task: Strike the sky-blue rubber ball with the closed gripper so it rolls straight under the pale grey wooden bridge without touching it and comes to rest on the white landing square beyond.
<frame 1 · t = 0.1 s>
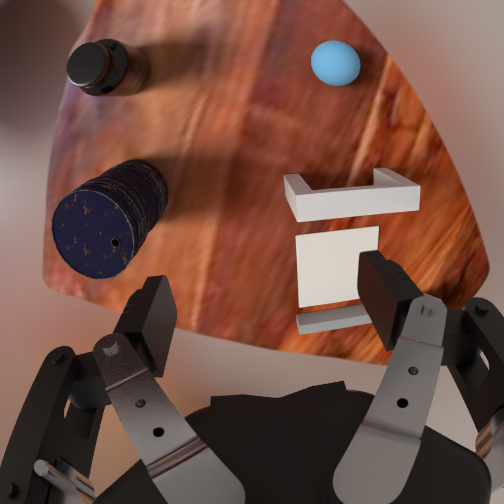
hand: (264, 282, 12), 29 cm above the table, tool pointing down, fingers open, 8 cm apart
ball: (335, 63, 30), on the table
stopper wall: (336, 312, 50), on the table
supplement bottle: (128, 72, 32), on the table
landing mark: (338, 268, 46), on the table
bridge: (337, 180, 40), on the table
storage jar: (136, 192, 40), on the table
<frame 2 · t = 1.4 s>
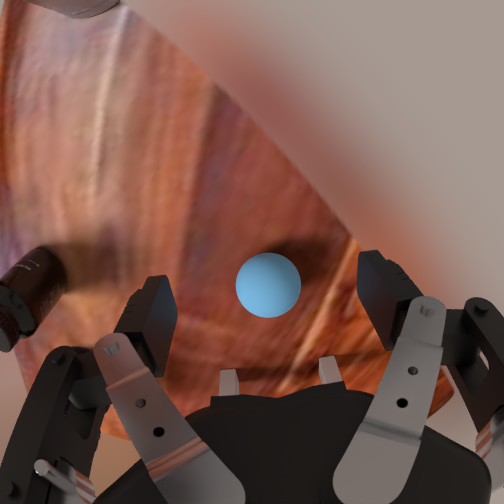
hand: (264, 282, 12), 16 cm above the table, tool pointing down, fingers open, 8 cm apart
ball: (268, 285, 28), on the table
supplement bottle: (47, 270, 30), on the table
bridge: (278, 371, 38), on the table
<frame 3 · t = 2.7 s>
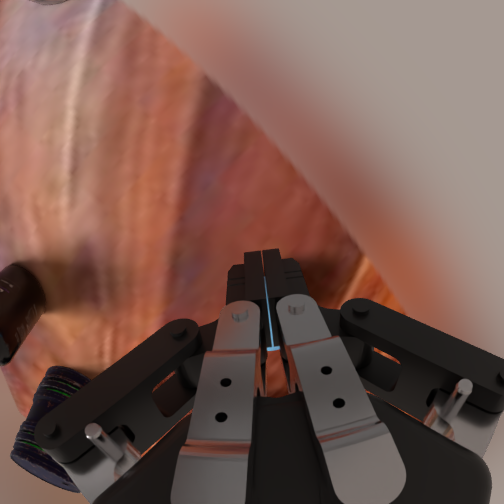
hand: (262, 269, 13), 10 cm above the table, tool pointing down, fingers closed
supplement bottle: (24, 288, 26), on the table
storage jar: (75, 387, 34), on the table
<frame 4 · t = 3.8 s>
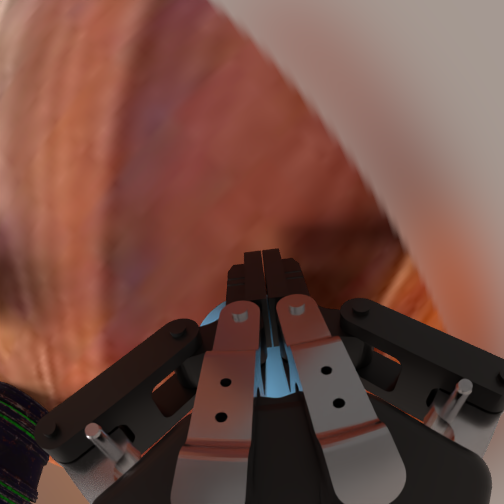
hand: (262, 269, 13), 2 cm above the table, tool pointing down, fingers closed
ball: (254, 354, 14), on the table
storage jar: (24, 407, 24), on the table
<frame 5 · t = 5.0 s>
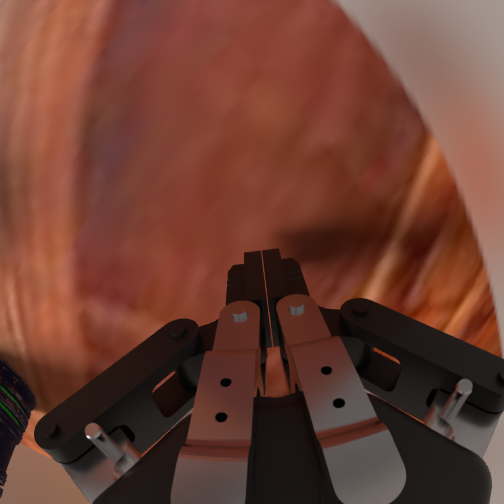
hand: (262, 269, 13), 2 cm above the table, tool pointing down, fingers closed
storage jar: (0, 377, 21), on the table
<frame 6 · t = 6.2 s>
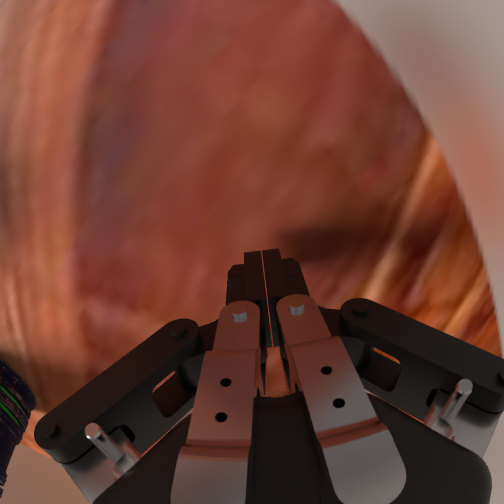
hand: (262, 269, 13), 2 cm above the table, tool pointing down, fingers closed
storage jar: (0, 377, 21), on the table
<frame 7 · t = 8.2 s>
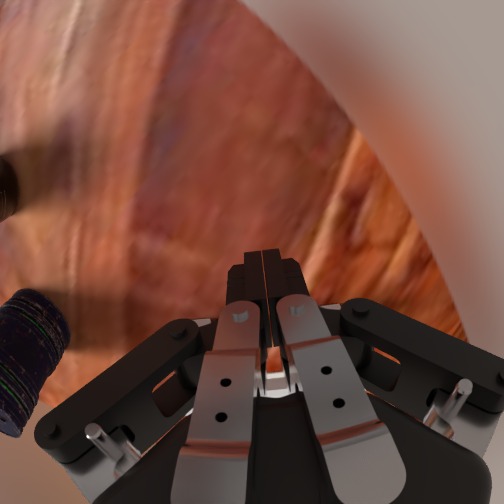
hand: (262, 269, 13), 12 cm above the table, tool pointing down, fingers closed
supplement bottle: (1, 187, 23), on the table
bridge: (266, 324, 30), on the table
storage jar: (40, 320, 30), on the table
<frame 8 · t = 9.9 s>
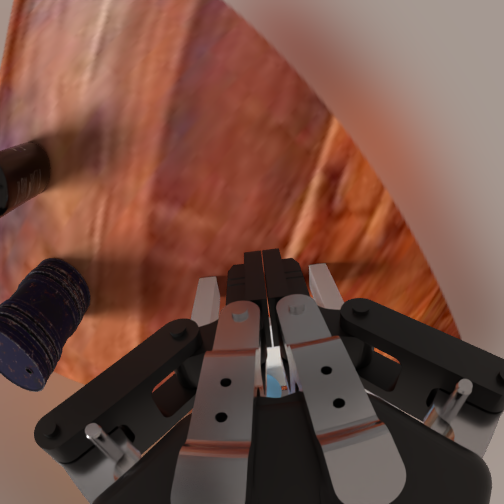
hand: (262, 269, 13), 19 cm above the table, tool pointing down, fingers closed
ball: (261, 392, 42), on the table
supplement bottle: (32, 167, 28), on the table
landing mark: (272, 360, 42), on the table
bridge: (263, 281, 36), on the table
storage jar: (62, 287, 36), on the table
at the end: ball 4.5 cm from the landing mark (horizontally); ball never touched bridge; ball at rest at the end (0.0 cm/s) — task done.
